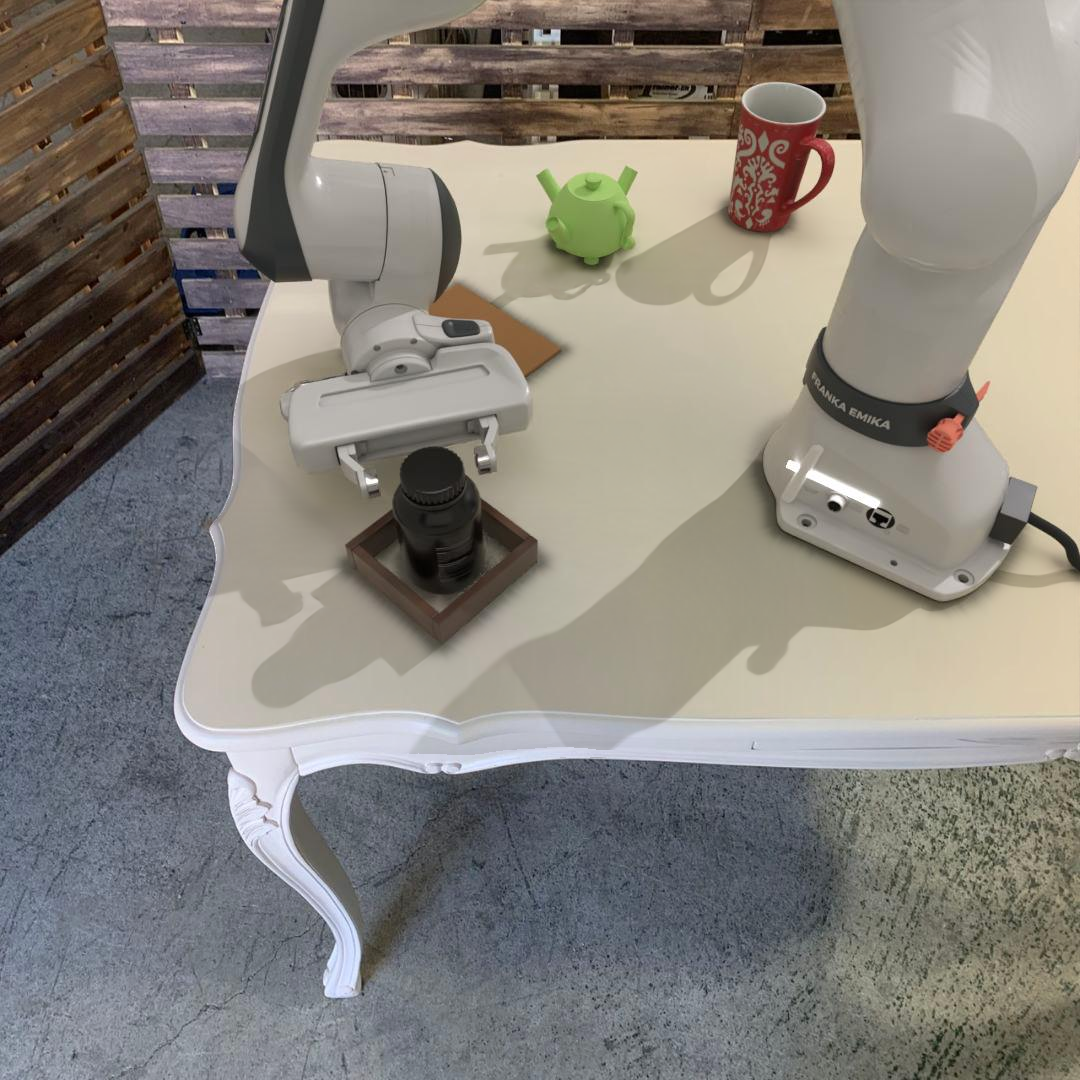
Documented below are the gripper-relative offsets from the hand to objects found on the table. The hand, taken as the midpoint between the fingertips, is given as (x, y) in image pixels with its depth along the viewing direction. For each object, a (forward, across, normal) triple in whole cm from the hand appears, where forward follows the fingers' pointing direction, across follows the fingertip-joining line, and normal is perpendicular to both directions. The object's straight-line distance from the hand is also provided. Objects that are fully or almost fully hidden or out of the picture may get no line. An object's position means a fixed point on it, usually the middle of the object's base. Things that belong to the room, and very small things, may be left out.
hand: (430, 481), depth 71 cm
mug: (-35, +47, +8) cm, 59 cm away
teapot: (-37, +25, +8) cm, 45 cm away
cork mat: (-22, +7, +7) cm, 25 cm away
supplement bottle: (+3, 0, +8) cm, 8 cm away
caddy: (+3, 0, +8) cm, 8 cm away
